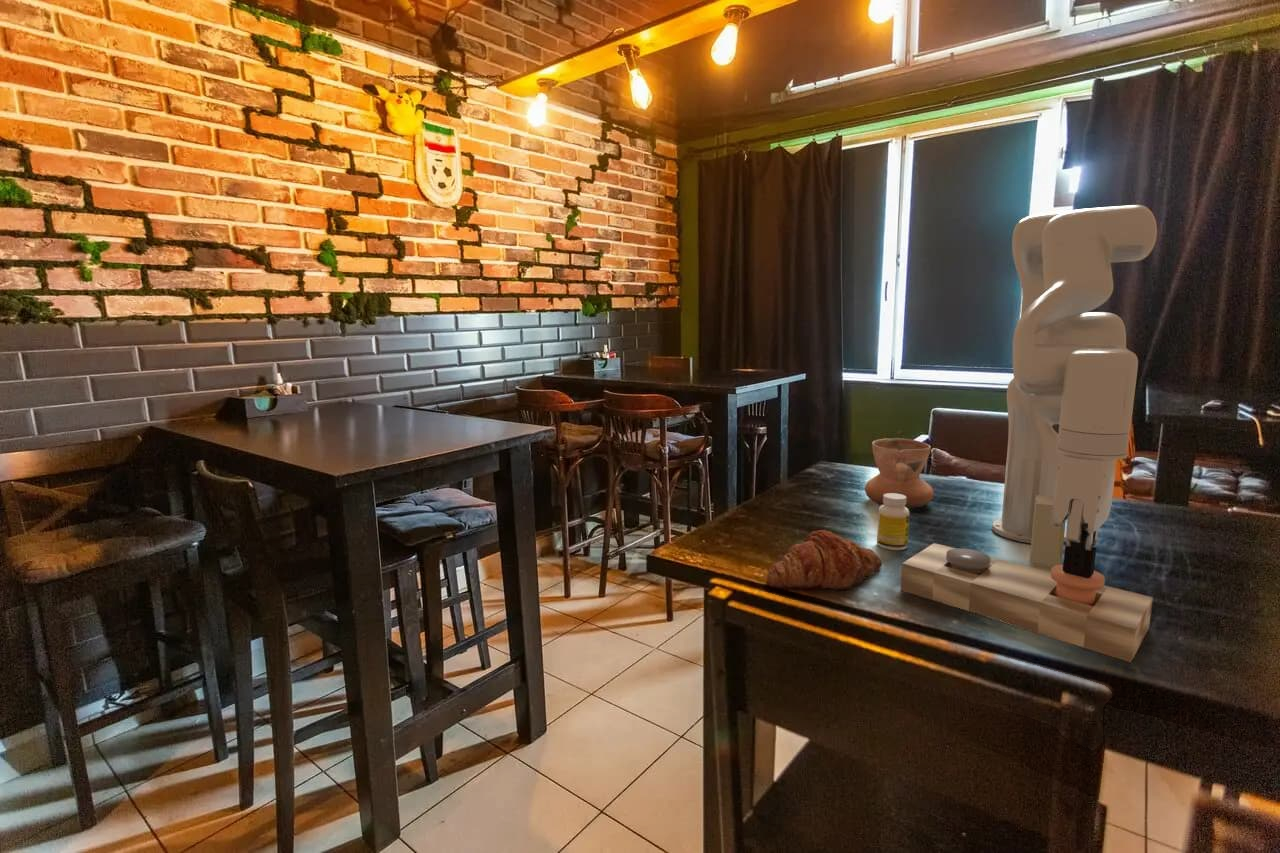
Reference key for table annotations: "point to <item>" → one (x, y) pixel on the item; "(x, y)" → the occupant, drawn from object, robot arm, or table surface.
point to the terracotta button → (1077, 585)
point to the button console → (1032, 602)
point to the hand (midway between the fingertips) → (1077, 573)
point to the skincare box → (1045, 536)
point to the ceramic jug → (900, 471)
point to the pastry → (824, 564)
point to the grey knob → (968, 560)
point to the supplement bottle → (893, 522)
